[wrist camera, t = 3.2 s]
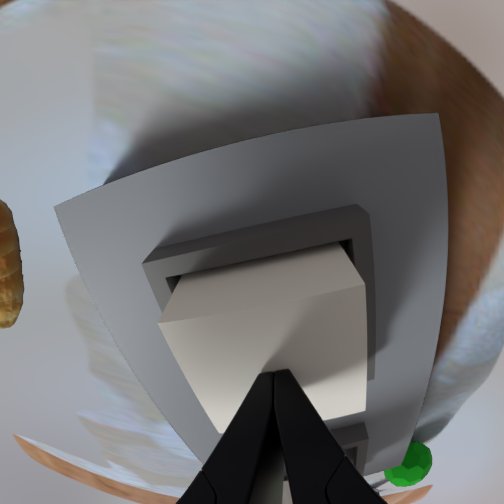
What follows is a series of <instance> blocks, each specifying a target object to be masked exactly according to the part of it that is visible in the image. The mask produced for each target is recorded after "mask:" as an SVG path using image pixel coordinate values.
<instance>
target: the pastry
mask: <svg viewBox="0 0 504 504" xmlns="http://www.w3.org/2000/svg"><path fill="white" fill-rule="evenodd" d="M20 252H21V250H20V244H19V237H18V233H17V229H16V227H15V224H14V221H13V215H12V212H11V210H10V209H9V208H8V206H7V204H6V203H4V202H3V201H1V200H0V329H2V328H8V327H11V326H12V325H13V324H14V323H15V322H16V320H17V318H18V315H19V313H20V310H21V307H22V304H23V293H24V283H23V275H22V260H21V257H20Z"/></svg>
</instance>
